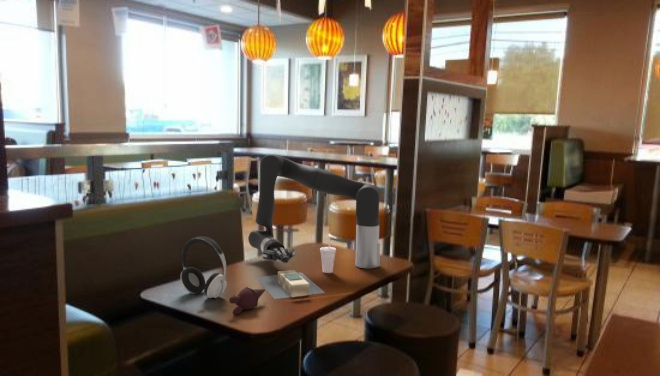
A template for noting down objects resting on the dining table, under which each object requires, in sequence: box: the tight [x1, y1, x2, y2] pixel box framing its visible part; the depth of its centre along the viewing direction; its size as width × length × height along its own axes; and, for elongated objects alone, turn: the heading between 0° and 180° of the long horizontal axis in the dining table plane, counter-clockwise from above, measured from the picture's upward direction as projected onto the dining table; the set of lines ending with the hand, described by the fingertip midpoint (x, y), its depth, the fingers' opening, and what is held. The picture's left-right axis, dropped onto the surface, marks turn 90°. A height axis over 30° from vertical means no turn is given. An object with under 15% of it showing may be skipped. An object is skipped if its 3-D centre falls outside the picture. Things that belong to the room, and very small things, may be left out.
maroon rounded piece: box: [228, 286, 266, 316], centre depth 153 cm, size 7×7×15 cm
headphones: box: [180, 235, 228, 299], centre depth 162 cm, size 19×8×20 cm, turn 60°
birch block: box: [277, 269, 310, 298], centre depth 170 cm, size 4×6×16 cm
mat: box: [255, 272, 326, 300], centre depth 175 cm, size 24×18×1 cm
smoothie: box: [319, 237, 337, 274], centre depth 190 cm, size 6×6×14 cm
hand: (286, 260), depth 177 cm, fingers closed
